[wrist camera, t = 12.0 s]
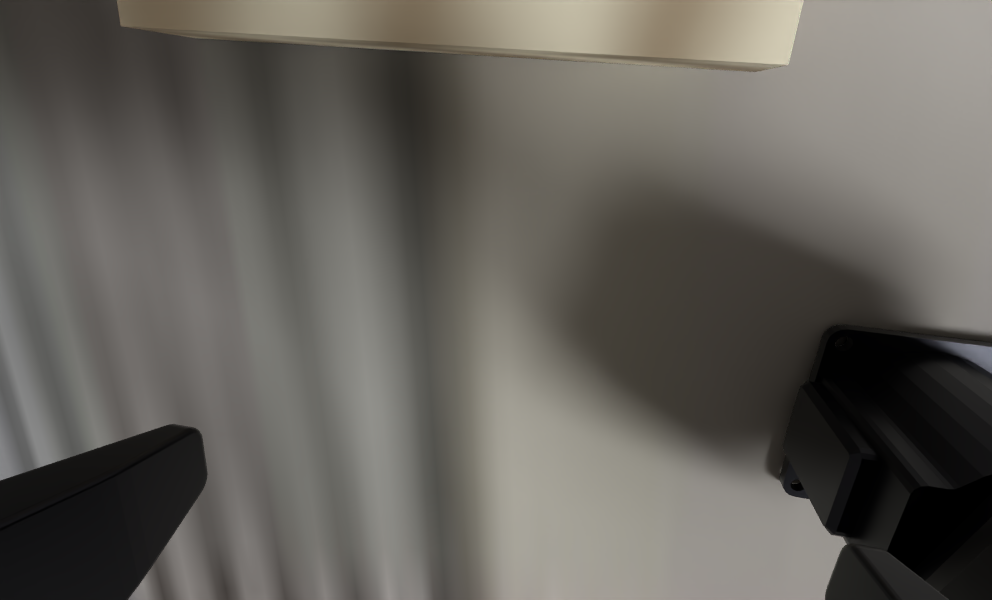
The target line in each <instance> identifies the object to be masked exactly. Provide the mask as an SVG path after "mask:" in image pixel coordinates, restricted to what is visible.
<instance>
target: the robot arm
mask: <svg viewBox="0 0 992 600" xmlns="http://www.w3.org/2000/svg"><path fill="white" fill-rule="evenodd" d="M845 336H847V341H846V343H845V344H843V345H841V346H835V342H836V341H837V339H839V338H840V337H845ZM783 450H784V452H785V454H786V457H785V461H784V464H783V467H782V470H781V474H780V482H781V484H782V486H783V488H784V490H785V492H786V493H788V494H789V495H791V496H794V497H800V498H806V499H810V501H811V503H812V505H813V507H814V509H815V511H816V513H817V514H818V516H819V518H820V520H821V522H822V524H823V526H824V527H825V528H826V529H827V531H828V532H829V533H830V534H831V535H835V536H840V537H843V538H844V540H845V542H846V543H847V545H845V546H844V547H843V548H842V550H841V552H840V554H839V557H838V559H837V562H836V565H835V568H834V570H833V573H832V576H831V578H830V581H829V584H828V586H827V589H826V594H825V600H992V343H990V342H982V341H973V340H965V339H957V338H949V337H941V336H932V335H924V334H916V333H908V332H900V331H892V330H883V329H875V328H867V327H859V326H851V325H835V326H832V327H830V328H829V329H828V330H826V331H825V333H824V335H823V336H822V339H821V343H820V346H819V349H818V352H817V356H816V359H815V362H814V366H813V369H812V372H811V375H810V379H809V381H807V382H806V383H805V384H803V385H802V386H801V387H800V389H799V392H798V396H797V399H796V402H795V406H794V409H793V412H792V416H791V419H790V422H789V426H788V429H787V432H786V436H785V439H784V442H783ZM796 479H799V480H800V482H799V483H797V484H792V481H794V480H796ZM206 480H207V466H206V459H205V452H204V445H203V438H202V434H201V433H200V431H199V430H198V429H196V428H194V427H188V426H182V425H176V424H170V425H166V426H163V427H160V428H157V429H154V430H151V431H148V432H145V433H142V434H139V435H136V436H133V437H130V438H127V439H124V440H121V441H118V442H115V443H112V444H109V445H106V446H103V447H100V448H97V449H94V450H91V451H88V452H85V453H82V454H79V455H76V456H73V457H70V458H67V459H64V460H61V461H58V462H55V463H52V464H49V465H46V466H43V467H40V468H37V469H34V470H31V471H28V472H25V473H22V474H19V475H16V476H13V477H10V478H7V479H4V480H1V481H0V600H128V599H129V597H130V596H131V595H132V593H133V592H134V591H135V589H136V588H137V587H138V586H139V584H140V583H141V581H142V580H143V578H144V577H145V576H146V574H147V573H148V571H149V570H150V569H151V567H152V566H153V564H154V563H155V561H156V560H157V558H158V557H159V555H160V554H161V552H162V551H163V549H164V548H165V546H166V545H167V543H168V542H169V540H170V539H171V537H172V536H173V534H174V533H175V531H176V530H177V528H178V527H179V525H180V524H181V522H182V521H183V519H184V518H185V516H186V515H187V513H188V512H189V510H190V509H191V507H192V506H193V504H194V503H195V501H196V500H197V498H198V497H199V495H200V494H201V492H202V490H203V488H204V486H205V484H206Z"/></svg>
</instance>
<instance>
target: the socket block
mask: <svg viewBox="0 0 992 600" xmlns="http://www.w3.org/2000/svg"><path fill="white" fill-rule="evenodd" d="M803 1H804V0H117V5H118V12H119V18H120V24H121V26H123V27H129V28H135V29H141V30H147V31H153V32H160V33H166V34H172V35H178V36H184V37H191V38H202V39H218V40H235V41H251V42H268V43H285V44H301V45H318V46H334V47H351V48H368V49H384V50H401V51H417V52H434V53H451V54H467V55H484V56H500V57H517V58H534V59H550V60H567V61H583V62H600V63H617V64H633V65H650V66H666V67H683V68H700V69H716V70H733V71H749V72H757V71H762V70H767V69H771V68H776V67H781V66H786V65H789V60H790V56H791V52H792V48H793V43H794V39H795V35H796V31H797V26H798V22H799V18H800V14H801V10H802V5H803Z"/></svg>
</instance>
